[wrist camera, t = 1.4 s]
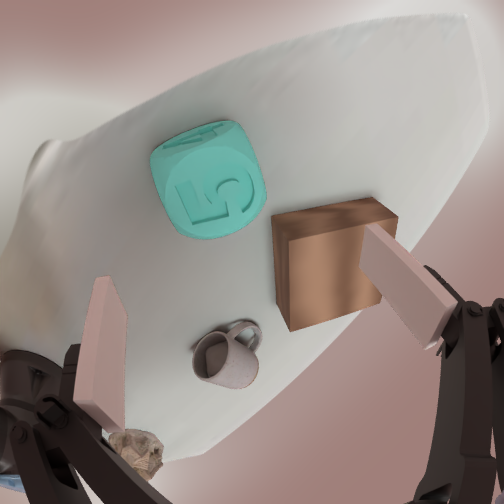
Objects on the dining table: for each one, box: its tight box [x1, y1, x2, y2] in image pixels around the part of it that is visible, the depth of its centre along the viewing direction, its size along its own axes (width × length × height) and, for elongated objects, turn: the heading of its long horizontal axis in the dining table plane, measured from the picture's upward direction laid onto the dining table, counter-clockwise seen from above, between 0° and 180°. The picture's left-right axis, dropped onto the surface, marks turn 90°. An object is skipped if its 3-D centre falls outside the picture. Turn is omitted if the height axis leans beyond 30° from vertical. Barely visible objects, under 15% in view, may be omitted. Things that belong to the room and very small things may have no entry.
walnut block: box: [271, 197, 398, 332], centre depth 37 cm, size 14×14×6 cm
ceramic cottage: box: [109, 429, 164, 482], centre depth 54 cm, size 16×16×15 cm
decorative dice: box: [150, 121, 267, 239], centre depth 26 cm, size 8×8×8 cm
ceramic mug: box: [192, 321, 262, 389], centre depth 41 cm, size 10×8×7 cm
